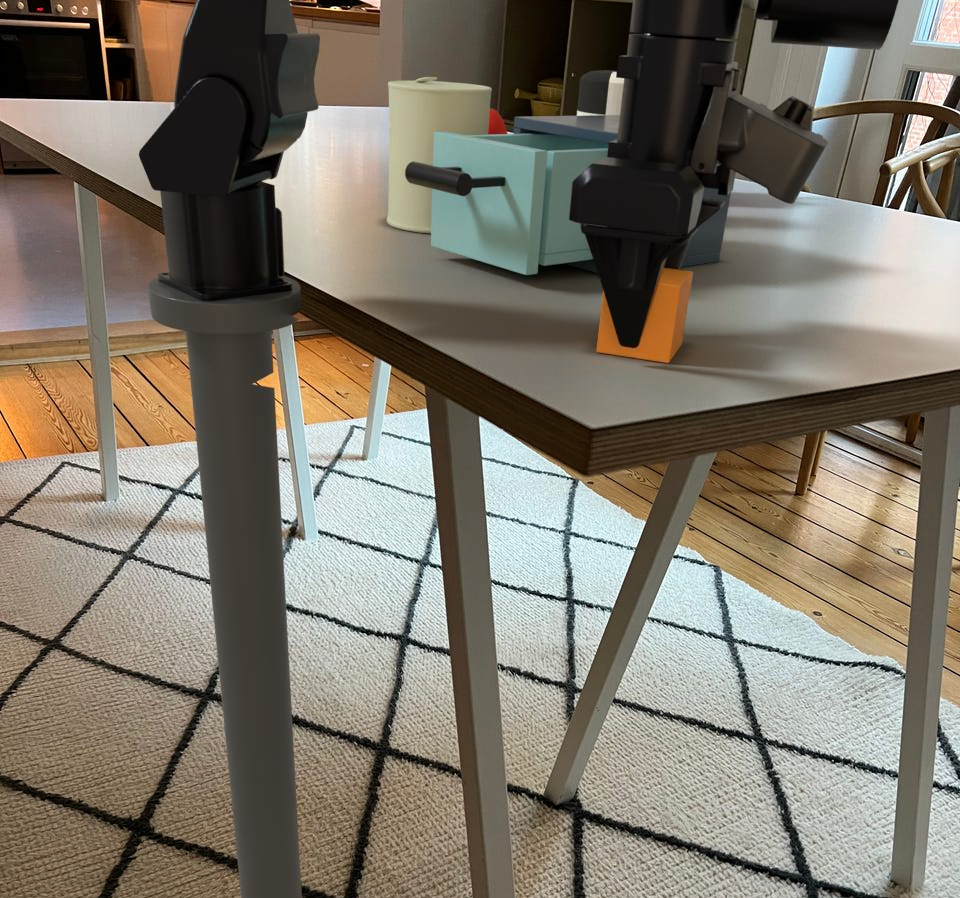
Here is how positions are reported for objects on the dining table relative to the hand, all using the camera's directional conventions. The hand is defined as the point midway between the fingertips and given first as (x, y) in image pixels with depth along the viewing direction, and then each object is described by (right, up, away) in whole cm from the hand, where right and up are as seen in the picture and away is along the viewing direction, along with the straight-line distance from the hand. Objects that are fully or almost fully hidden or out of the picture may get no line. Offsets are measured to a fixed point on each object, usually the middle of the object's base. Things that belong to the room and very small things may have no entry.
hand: (641, 331), depth 62 cm
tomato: (-12, +38, +62) cm, 74 cm away
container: (+2, +24, +41) cm, 48 cm away
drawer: (-7, +11, +18) cm, 23 cm away
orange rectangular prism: (0, -1, +1) cm, 1 cm away
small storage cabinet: (+2, +14, +25) cm, 29 cm away
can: (-14, +20, +32) cm, 40 cm away
